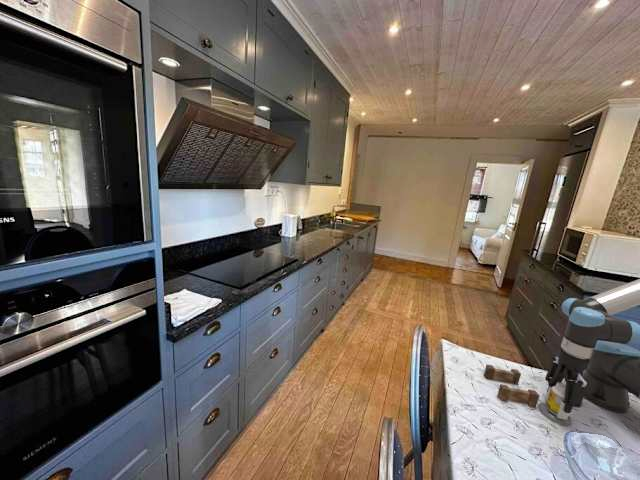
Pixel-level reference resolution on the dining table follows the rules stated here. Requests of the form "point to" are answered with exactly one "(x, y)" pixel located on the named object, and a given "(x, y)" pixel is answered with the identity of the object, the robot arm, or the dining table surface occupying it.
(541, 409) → the slate coaster
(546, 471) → the dining table surface
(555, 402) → the supplement bottle
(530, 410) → the dining table surface
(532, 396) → the walnut channel
